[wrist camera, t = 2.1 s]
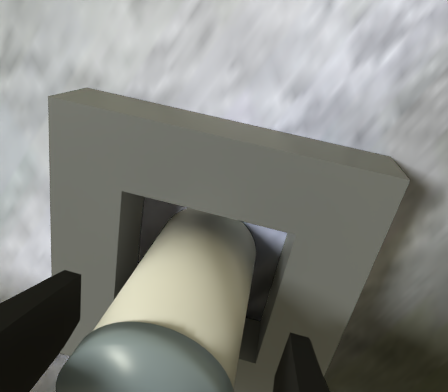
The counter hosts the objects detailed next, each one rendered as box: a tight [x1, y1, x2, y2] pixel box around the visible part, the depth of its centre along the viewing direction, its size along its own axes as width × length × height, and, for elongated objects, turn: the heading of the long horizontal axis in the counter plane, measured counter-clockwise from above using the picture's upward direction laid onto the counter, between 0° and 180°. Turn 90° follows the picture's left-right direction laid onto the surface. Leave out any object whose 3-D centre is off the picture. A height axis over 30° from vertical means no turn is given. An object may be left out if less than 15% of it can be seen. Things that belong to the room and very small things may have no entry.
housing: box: [48, 88, 410, 392], centre depth 15 cm, size 12×12×2 cm
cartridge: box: [56, 208, 256, 392], centre depth 13 cm, size 5×5×8 cm
